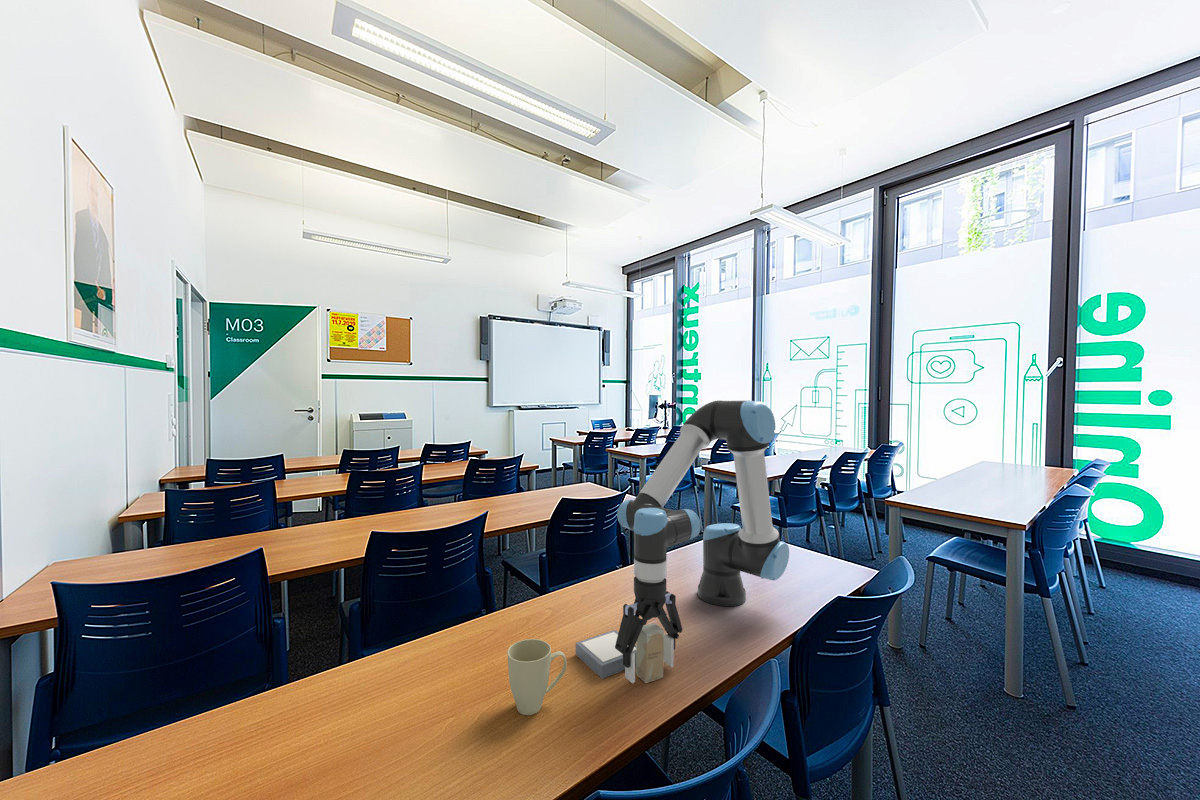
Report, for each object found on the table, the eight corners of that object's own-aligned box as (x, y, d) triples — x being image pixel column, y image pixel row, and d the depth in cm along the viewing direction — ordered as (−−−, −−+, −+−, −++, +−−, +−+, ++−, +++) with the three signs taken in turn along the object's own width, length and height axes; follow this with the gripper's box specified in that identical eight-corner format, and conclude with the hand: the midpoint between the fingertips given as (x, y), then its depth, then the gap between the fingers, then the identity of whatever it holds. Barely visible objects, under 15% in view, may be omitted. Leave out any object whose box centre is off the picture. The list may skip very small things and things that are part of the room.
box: (645, 684, 105) (645, 635, 105) (635, 674, 109) (635, 626, 109) (664, 677, 108) (664, 629, 107) (654, 668, 111) (654, 621, 111)
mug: (535, 730, 90) (535, 668, 90) (498, 711, 96) (498, 653, 96) (568, 699, 100) (568, 643, 100) (532, 684, 105) (532, 631, 105)
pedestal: (614, 641, 124) (614, 629, 124) (643, 662, 114) (643, 649, 113) (575, 654, 117) (575, 642, 117) (601, 678, 107) (601, 665, 107)
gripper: (676, 562, 118) (676, 649, 118) (599, 582, 105) (598, 679, 105) (698, 571, 111) (697, 663, 111) (618, 594, 99) (618, 697, 99)
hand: (649, 671), depth 108 cm, fingers open, 11 cm apart
